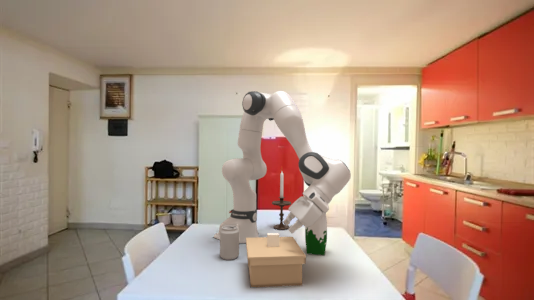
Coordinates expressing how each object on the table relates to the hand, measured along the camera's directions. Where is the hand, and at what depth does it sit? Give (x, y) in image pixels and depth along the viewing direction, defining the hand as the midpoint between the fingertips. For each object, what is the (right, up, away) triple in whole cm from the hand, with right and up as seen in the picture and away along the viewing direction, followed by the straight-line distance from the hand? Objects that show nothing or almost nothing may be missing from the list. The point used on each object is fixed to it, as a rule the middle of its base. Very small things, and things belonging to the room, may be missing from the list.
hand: (287, 227), depth 93 cm
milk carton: (+14, -16, +21) cm, 30 cm away
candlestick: (+1, -17, +58) cm, 61 cm away
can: (-22, -16, +14) cm, 30 cm away
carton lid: (-5, -8, -1) cm, 10 cm away
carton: (-5, -15, -1) cm, 16 cm away
